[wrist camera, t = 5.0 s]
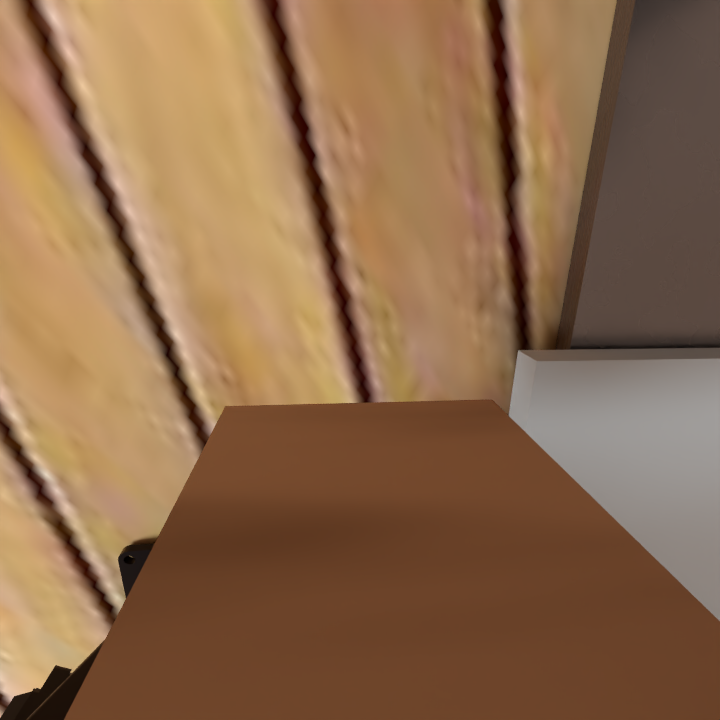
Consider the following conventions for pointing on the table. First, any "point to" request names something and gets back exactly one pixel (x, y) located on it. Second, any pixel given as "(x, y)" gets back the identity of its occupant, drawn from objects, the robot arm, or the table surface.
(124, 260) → the table surface
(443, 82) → the table surface
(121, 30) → the table surface
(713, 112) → the press frame
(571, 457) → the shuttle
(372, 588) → the housing
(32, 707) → the robot arm
